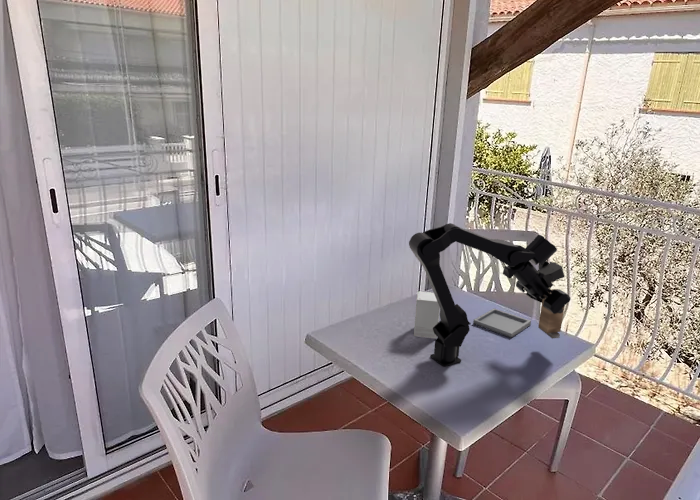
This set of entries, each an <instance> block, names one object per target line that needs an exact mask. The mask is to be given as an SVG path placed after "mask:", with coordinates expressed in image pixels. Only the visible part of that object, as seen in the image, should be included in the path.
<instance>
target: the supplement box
mask: <svg viewBox="0 0 700 500" xmlns="http://www.w3.org/2000/svg"><path fill="white" fill-rule="evenodd" d="M415 302H416V303H415V313H414V314H415V316H414V327H413V329H414V330H413V337H419V338H426V339H437V338H438V337H437V336H436V335H435V334H434V331H433V327H434V326H435V325H436V324H437V323H438V322H439V319H440V307H439V304H438V302H437V299H436V297H435V294H434V292H430V291H429V292H428V291H417V294H416V301H415Z"/></svg>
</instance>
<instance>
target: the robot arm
mask: <svg viewBox="0 0 700 500" xmlns="http://www.w3.org/2000/svg"><path fill="white" fill-rule="evenodd" d="M453 243H459V244H462V245H464V246H467V247H469V248H472V249H475V250H478V251H480V252H483V253H485V254H488V255H491V256H492V257H493V258H495V259H497V260H498V261H500V262H501V263H503V264H505V265H506V266H504V267H503V271H502V275H504V276H505V277H506V278H508V279H511V278H513V277H515V278H516V280H517V281H516V282H515V287H516V288H517V289H518V290H519V291H520V292H522V293H523V294H524V293H525V292H526V293H525V294H526V295H527V296H528V297H529V298H530V299H533V300H534V301H537V302H539V303H541V304H542V299H545V298H546V299H545V300H544V303H543V307H545V308H546V309H548V310H549V311H551V312H552V313H553V314H556V313H560V314H561V313H562V312H563V309H562V308H563V307H564V306H566V305H567V304H569V302H570V301H571V300H572V299H571V297H570V296H569V294H568V293H567V292H565V291H564V290H562V289H559V288H552V287H553V286H554V284H553V283H554V282H556V281H558V280H560V279H563V278H565V272H564V270H563V269H564V268H563V266H562V265H560V264H558V263H556V262H553V261H549V262H548V260H549V259H550V258H551V257H552V256H553V255H555V253H556V252H557V251H558V249H557V246H555V245H554V244H553V243H551V242H550V240H548V239H546V238H545V237H544V236H543V235H542V234H537V235H536V236H535V238H534V239H533V240H532V241H531V242H530V243H529V244H528V245H527V246H526V247H523V246H522V245H520V244H514V243H512V242H510V241H508V240H504V239H498V238H497V239H496V238H495V239H493V238H488V237H486V236H483V235H481V234H478V233H475V232H473V231H470V230H467V229H465V228H462V227H459V226H458V225H456V224H454V223H446V224H444V225H441V226H439V227H434V228H431V229H427V230H424V231H423V232H415V234H413V235H412V236H411V237H410V239H409V241H408V246H409V248H410V249H409V250H411V251H412V253H413V255H414V257H415V258H416V259H417V261H418V262H419V263H420V265H421V266H422V267H423V270H424V272H425V274H426V277H427V279H428V282H429V285H430V287H431V288H432V291H433V292H432V293H434V294H435V297H436V299H437V302H438V304H439V307H440V311H439V319H440V321H438V323H437V324H436V325H435V326H434V327H433V331H434V334H435V335H436V336H437V339H435V340H434V348H433V349H434V350H433V353H432V354H430V358H431V359H432V360H434V361H435V362H437V363H438V364H439V365H441V366H442V367H448V366H451V365H455V364H458V363H461V362H462V359H461V358H459V354H460V347H461V346H462V345H463V342H464V341H465V338H466V336H467V335H468V334H469V332H470V329H471V328H470V325H471V322H470V321H469V319H468V315H467V312H466V310H464V309H463V308H462V307H461V306H460V305H459V304H458V303H455V301H454V299H453V296H452V294H451V291H450V287H449V285H448V283H447V281H446V277H445V276H444V273H443V271H442V270H443V269H442V267H441V265H440V264H441V263H440V260H441V255H440V253H441V252H443V251H445V250H447V248H449V246H451V245H452V244H453ZM533 264H534V265H536V266H537V265H538V269H537V268H536V267H535V266H534V265H533ZM551 288H552V289H553V290H550V289H551ZM555 289H556V290H555ZM545 296H546V297H545Z"/></svg>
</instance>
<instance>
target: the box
mask: <svg viewBox="0 0 700 500" xmlns="http://www.w3.org/2000/svg"><path fill="white" fill-rule="evenodd" d="M472 324H473V325H475V326H477V327H481V328H483V329H486V330H488V331H492V332H494V333H496V334H499V335H502V336H503V337H504V336H505V337H507V338H510V339H512V338H514V337H515V336H517V335H518V334H520V333H521V332H522V331H524V330H525V329H527V328H528V327H530V326H531V324H532V320H530V319H527V318H524V317H521V316H519V315H516V314H512V313H509V312H506V311H503V310H500V309H498V308H492V309H490V310H488V311H487V312H485V313H483V314H481V315H480V316H477V317H476V318H474V319H473V323H472Z"/></svg>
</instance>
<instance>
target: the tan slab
mask: <svg viewBox="0 0 700 500" xmlns="http://www.w3.org/2000/svg"><path fill="white" fill-rule="evenodd" d="M549 289H550V290H553V289H555V290H556V289H557V288H552V289H551V288H549ZM545 297H546V296H545ZM545 299H546V298H545ZM545 299H542V303H541V306H540V307H541V308H540V313H539V320H538V328H537V329H539V330H540V331H542V332H543V333H544V334H545V335H547V336H548V337H549V338H551V339H552V340H553V339H560V336H561V330H562V325H563V319H564V313H565V306H566V305H565V306H564V307H563V308H562V309H563V312H562V313H561V314H560V313H556V314H553V313H552V312H551V311H549V310H548V309H546V308H545V307H543V303H544V300H545Z"/></svg>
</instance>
